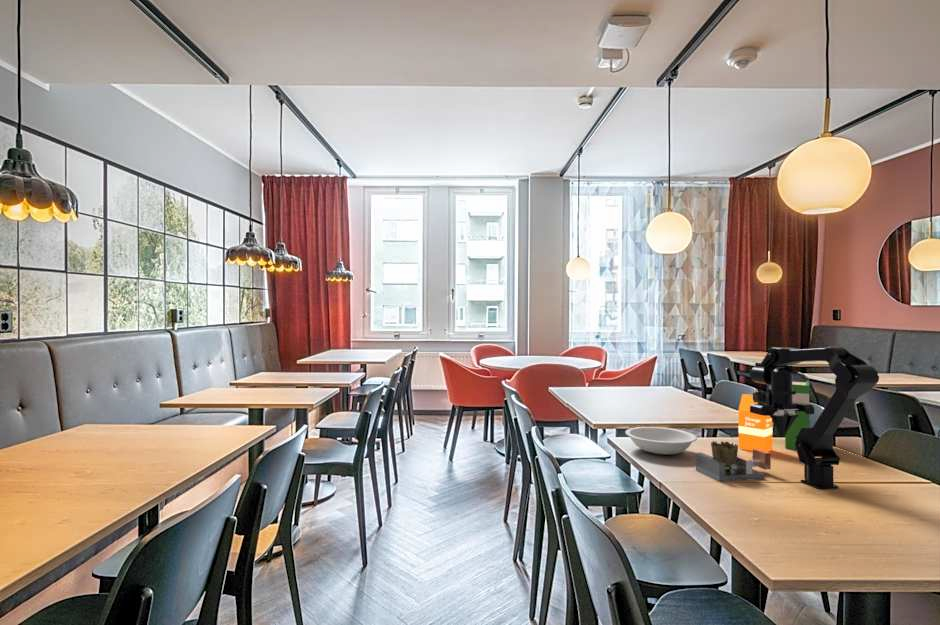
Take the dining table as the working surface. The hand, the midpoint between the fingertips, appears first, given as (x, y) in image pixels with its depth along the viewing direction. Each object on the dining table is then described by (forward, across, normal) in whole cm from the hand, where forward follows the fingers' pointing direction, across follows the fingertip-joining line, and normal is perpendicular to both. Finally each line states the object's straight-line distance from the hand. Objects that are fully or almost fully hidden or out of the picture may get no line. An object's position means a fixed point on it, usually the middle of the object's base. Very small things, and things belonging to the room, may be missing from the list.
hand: (782, 436), depth 151 cm
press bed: (+11, +19, 0) cm, 22 cm away
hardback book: (+11, -32, -27) cm, 43 cm away
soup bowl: (+11, +26, -26) cm, 39 cm away
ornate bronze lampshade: (+10, +20, 0) cm, 23 cm away
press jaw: (+9, +12, 0) cm, 15 cm away
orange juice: (+11, -11, -24) cm, 29 cm away
